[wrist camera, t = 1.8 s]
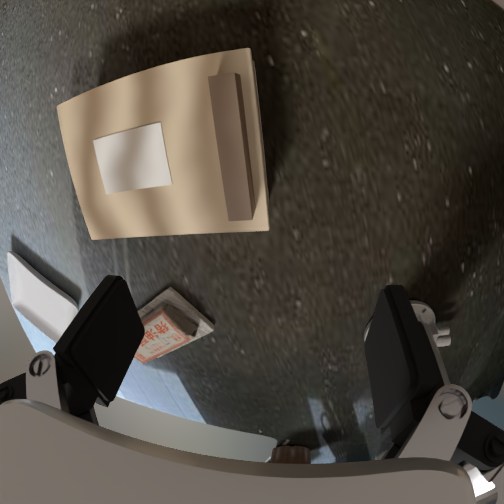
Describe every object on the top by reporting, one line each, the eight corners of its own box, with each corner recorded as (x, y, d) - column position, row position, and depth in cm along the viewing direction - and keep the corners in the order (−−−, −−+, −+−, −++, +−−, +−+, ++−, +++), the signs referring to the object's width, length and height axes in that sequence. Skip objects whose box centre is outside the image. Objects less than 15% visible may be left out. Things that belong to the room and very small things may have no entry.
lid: (250, 49, 19) (244, 42, 16) (269, 226, 27) (266, 243, 24) (61, 105, 22) (41, 109, 19) (95, 236, 31) (80, 250, 28)
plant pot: (327, 447, 71) (325, 491, 58) (296, 458, 79) (292, 496, 66) (286, 439, 68) (282, 487, 55) (257, 449, 77) (251, 491, 63)
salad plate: (15, 241, 43) (5, 250, 40) (86, 297, 47) (77, 309, 44) (19, 299, 53) (11, 307, 51) (78, 345, 58) (72, 355, 55)
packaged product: (149, 372, 48) (109, 341, 45) (157, 354, 52) (119, 323, 49) (210, 346, 41) (159, 304, 37) (216, 323, 45) (171, 283, 42)
